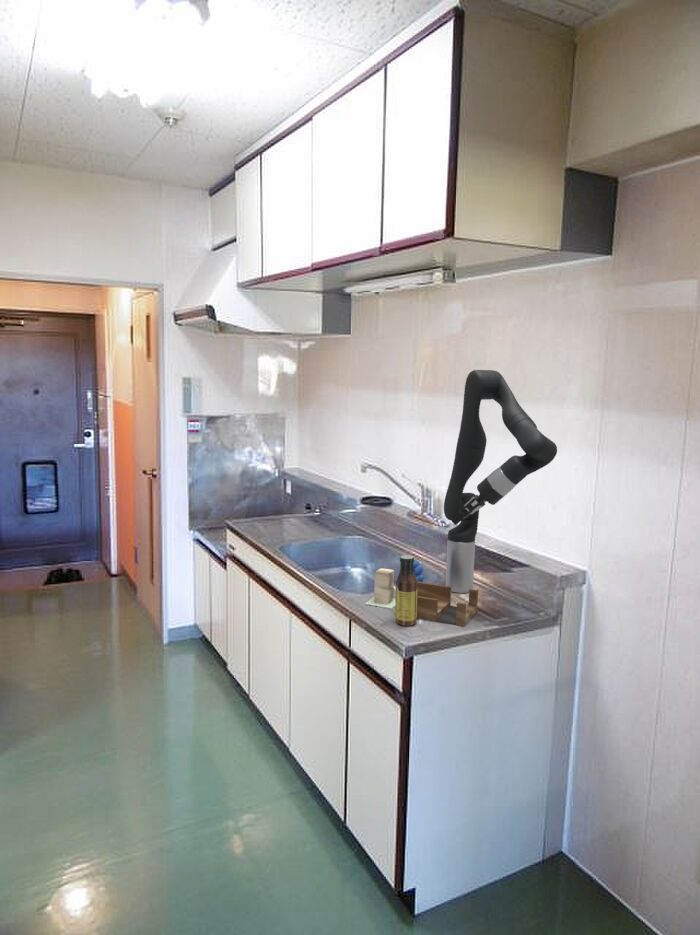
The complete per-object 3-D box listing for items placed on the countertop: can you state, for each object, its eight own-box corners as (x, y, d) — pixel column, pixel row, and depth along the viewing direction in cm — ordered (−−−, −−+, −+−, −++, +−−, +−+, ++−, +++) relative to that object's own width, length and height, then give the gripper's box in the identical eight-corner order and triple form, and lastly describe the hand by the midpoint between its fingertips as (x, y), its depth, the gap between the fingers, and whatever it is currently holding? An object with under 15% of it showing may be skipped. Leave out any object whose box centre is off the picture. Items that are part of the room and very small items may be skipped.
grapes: (433, 597, 218) (434, 561, 217) (416, 600, 215) (417, 563, 213) (412, 587, 228) (413, 553, 227) (396, 590, 225) (397, 555, 223)
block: (380, 598, 214) (381, 568, 213) (393, 600, 212) (394, 570, 211) (374, 602, 210) (374, 571, 208) (387, 605, 208) (388, 573, 207)
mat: (375, 596, 217) (375, 595, 217) (401, 601, 213) (401, 599, 213) (364, 604, 209) (364, 603, 209) (391, 609, 205) (391, 608, 205)
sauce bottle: (403, 617, 198) (405, 552, 195) (420, 622, 194) (423, 556, 191) (390, 623, 193) (392, 556, 190) (408, 628, 189) (410, 560, 186)
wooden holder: (412, 600, 214) (413, 580, 213) (477, 610, 205) (478, 590, 205) (395, 614, 200) (396, 593, 199) (464, 626, 191) (465, 604, 191)
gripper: (493, 473, 201) (455, 507, 208) (482, 478, 189) (441, 514, 195) (510, 492, 200) (471, 525, 206) (500, 498, 187) (458, 534, 193)
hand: (457, 520), depth 200 cm, fingers open, 8 cm apart
